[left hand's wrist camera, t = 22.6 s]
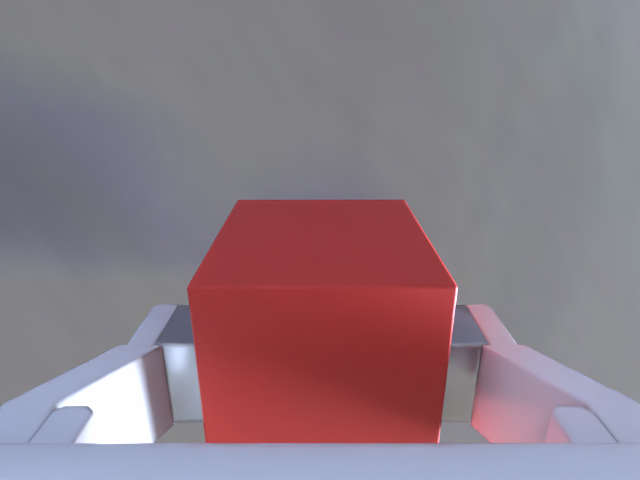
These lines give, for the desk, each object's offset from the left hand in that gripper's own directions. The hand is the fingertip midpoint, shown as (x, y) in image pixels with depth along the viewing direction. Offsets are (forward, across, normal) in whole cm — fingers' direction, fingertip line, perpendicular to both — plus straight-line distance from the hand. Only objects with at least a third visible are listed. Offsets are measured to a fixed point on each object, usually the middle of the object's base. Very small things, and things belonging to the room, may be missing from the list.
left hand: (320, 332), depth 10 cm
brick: (+2, 0, 0) cm, 2 cm away
